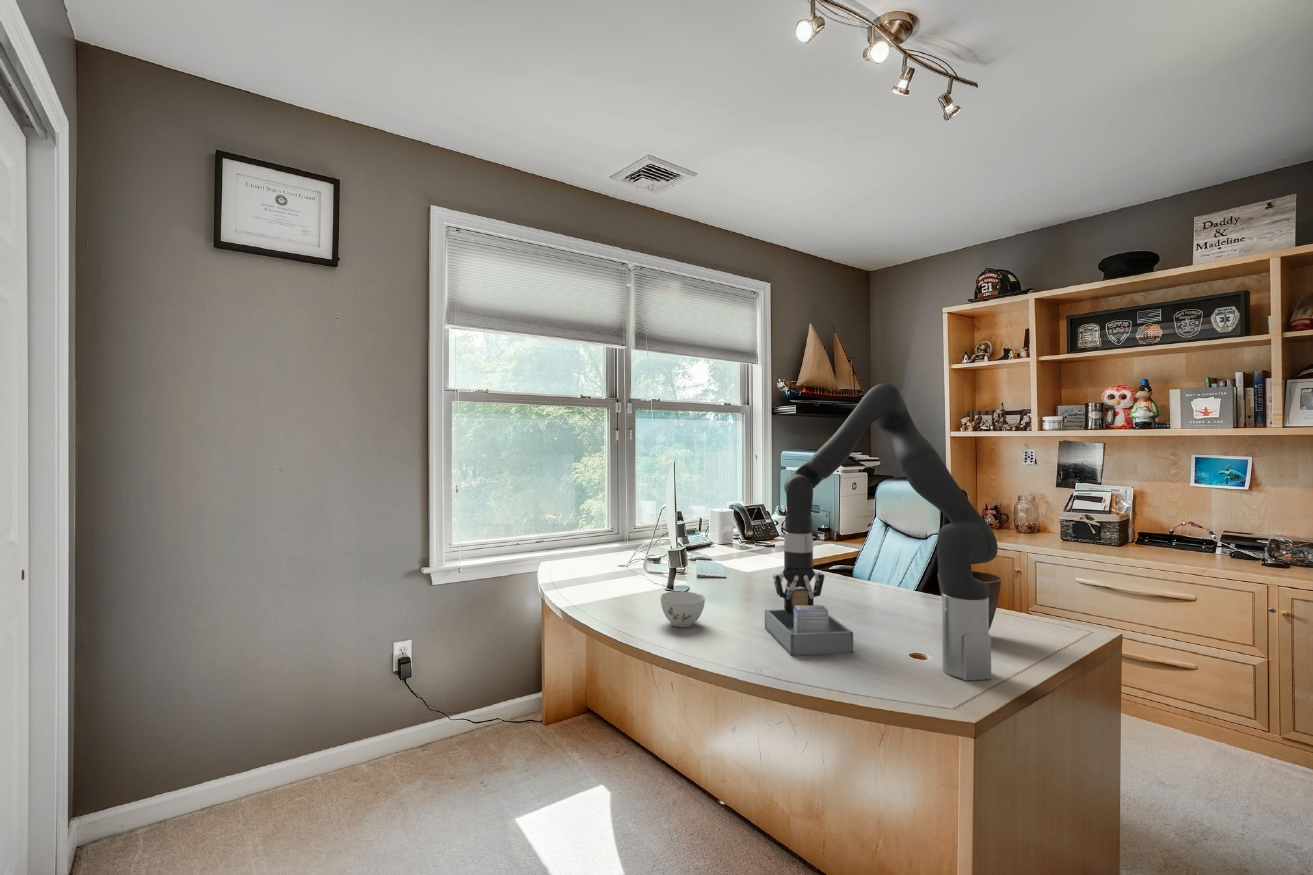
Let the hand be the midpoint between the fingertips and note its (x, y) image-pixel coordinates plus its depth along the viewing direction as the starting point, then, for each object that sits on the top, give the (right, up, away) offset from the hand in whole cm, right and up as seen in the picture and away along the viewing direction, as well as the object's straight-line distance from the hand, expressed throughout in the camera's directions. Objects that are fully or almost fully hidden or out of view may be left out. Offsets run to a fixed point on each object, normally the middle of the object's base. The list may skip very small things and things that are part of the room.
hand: (798, 612), depth 167 cm
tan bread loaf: (0, -1, 0) cm, 1 cm away
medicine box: (+1, -5, -9) cm, 11 cm away
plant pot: (+44, -5, -4) cm, 44 cm away
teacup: (-30, -6, +8) cm, 32 cm away
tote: (+1, -5, -6) cm, 8 cm away
